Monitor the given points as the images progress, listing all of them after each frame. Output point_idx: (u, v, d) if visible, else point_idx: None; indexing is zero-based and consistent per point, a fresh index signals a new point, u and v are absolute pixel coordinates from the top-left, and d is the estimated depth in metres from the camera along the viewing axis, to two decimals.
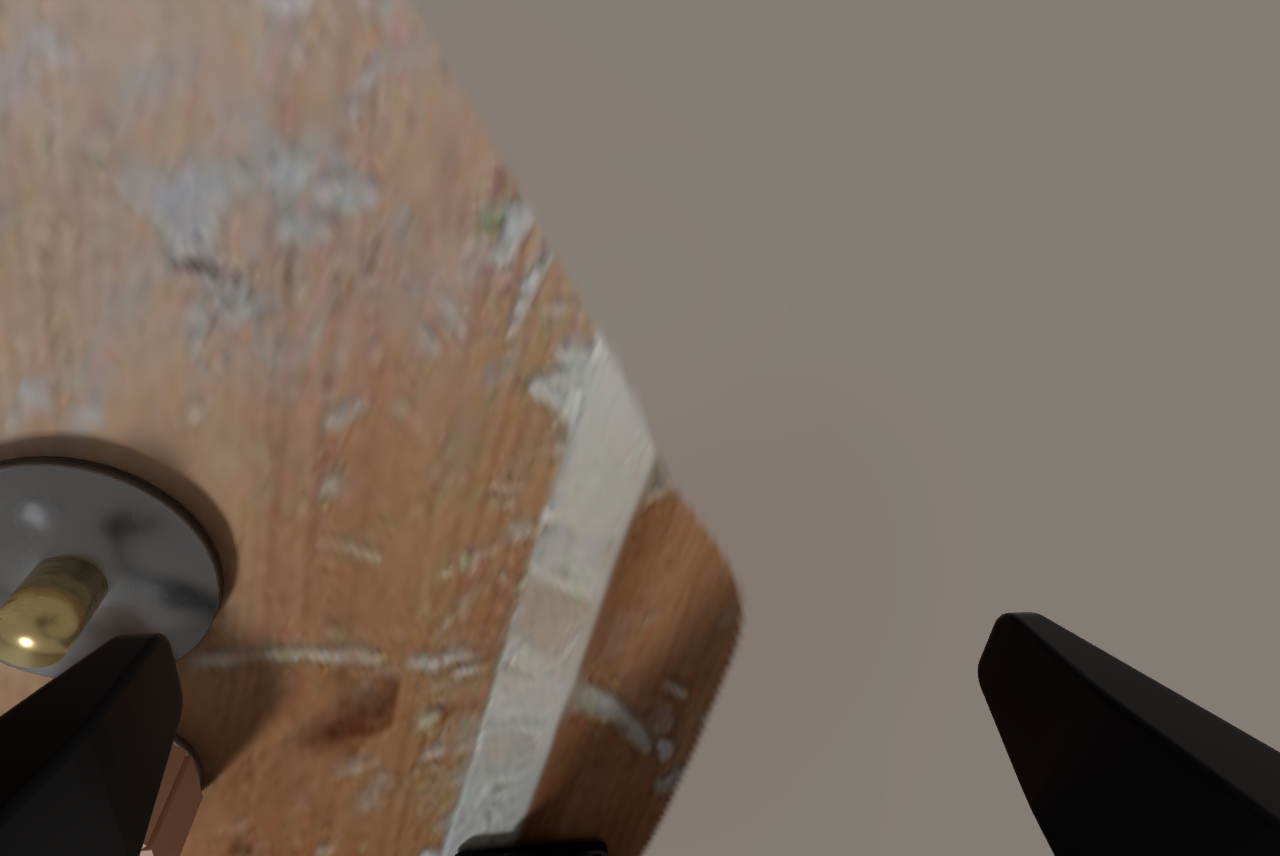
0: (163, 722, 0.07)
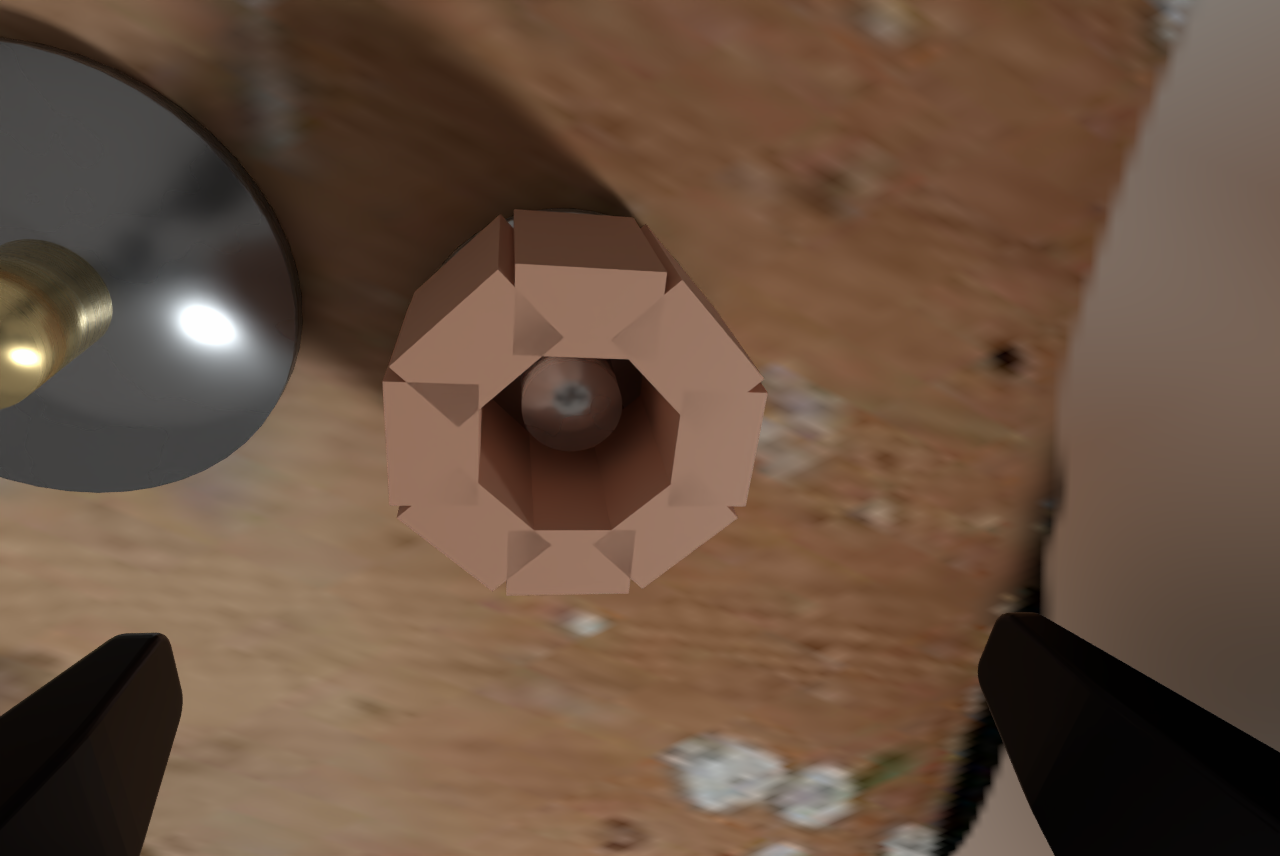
0: (163, 722, 0.07)
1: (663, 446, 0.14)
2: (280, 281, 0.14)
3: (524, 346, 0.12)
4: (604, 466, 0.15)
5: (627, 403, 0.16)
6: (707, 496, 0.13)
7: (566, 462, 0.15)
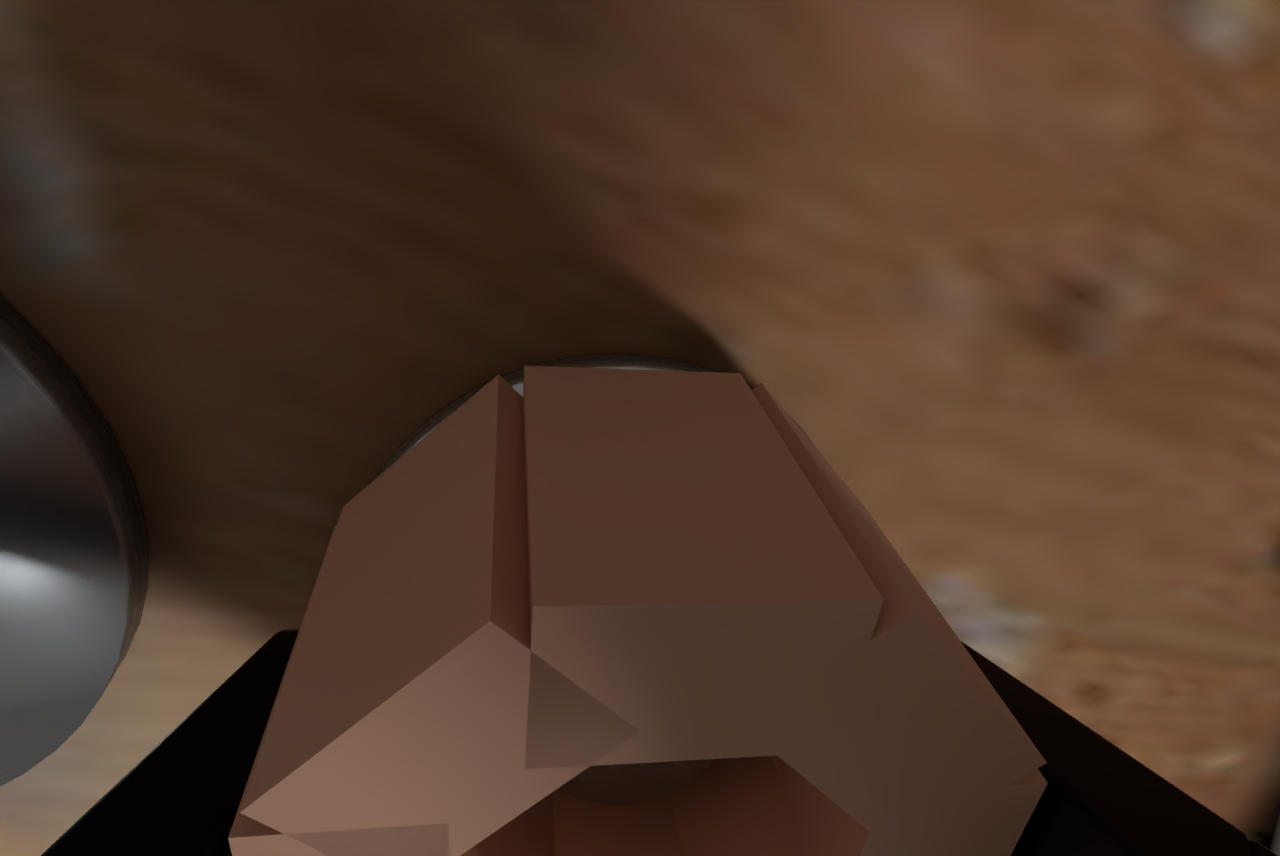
0: None
1: (805, 819, 0.07)
2: (86, 505, 0.07)
3: (551, 752, 0.05)
4: (679, 795, 0.09)
5: None
6: None
7: None
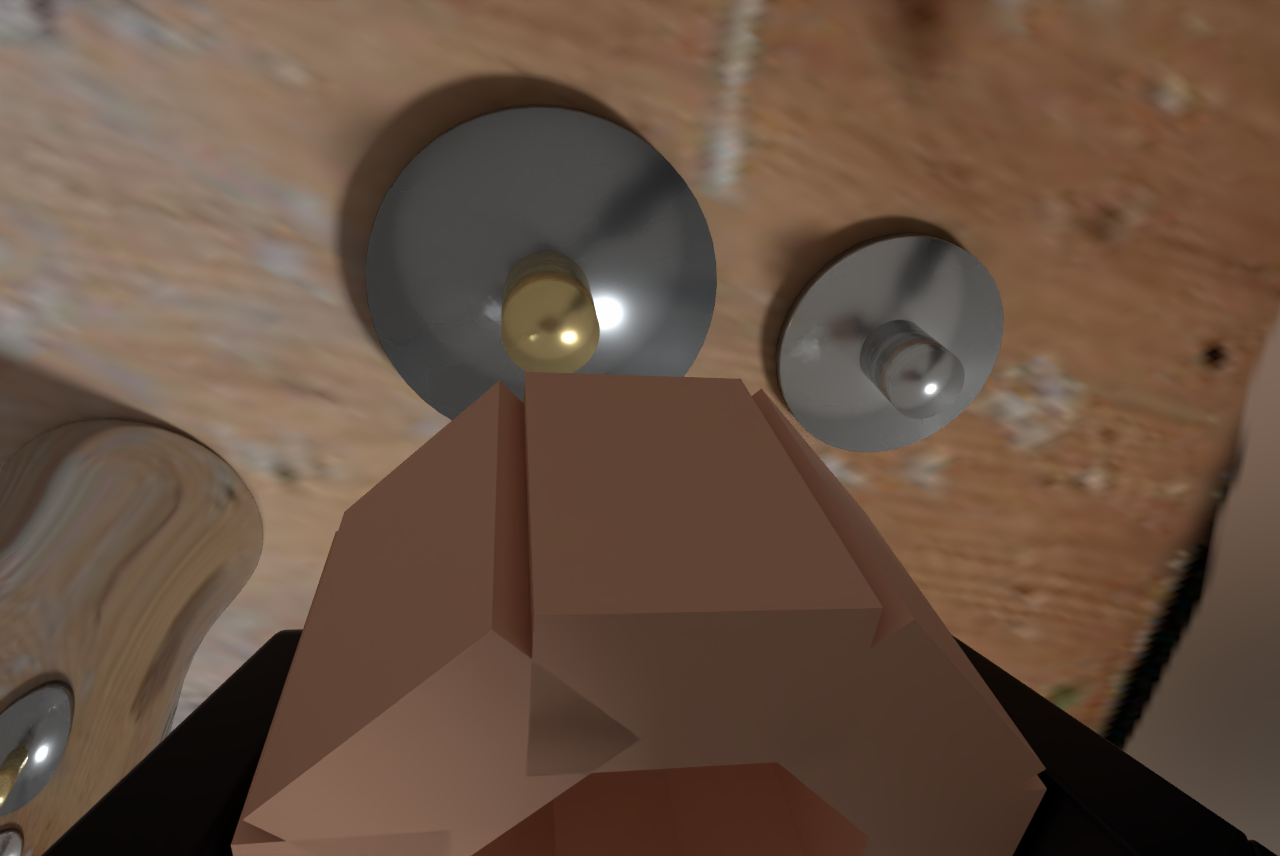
0: None
1: (805, 824, 0.07)
2: (710, 285, 0.18)
3: (552, 760, 0.05)
4: (680, 800, 0.09)
5: None
6: None
7: (612, 786, 0.09)
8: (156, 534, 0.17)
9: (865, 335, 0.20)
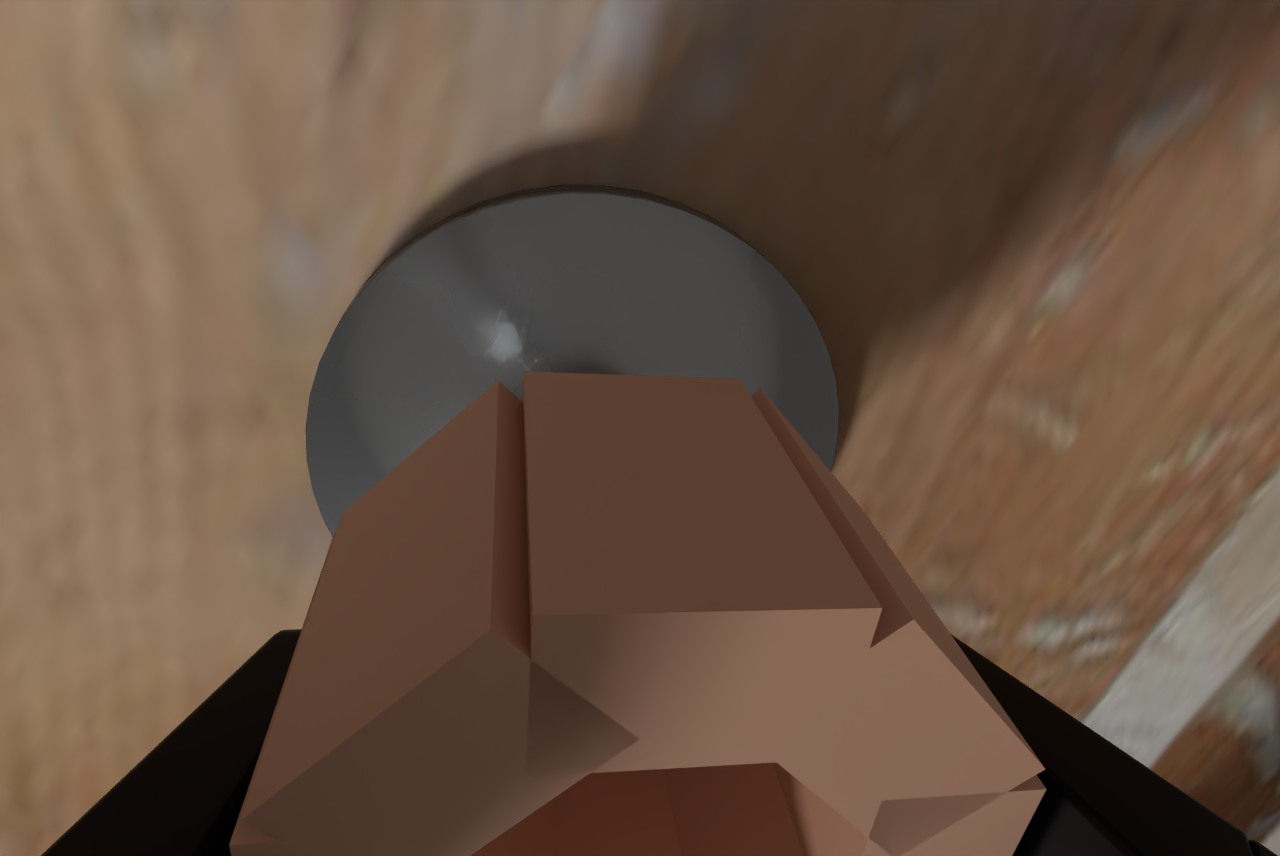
0: None
1: (805, 824, 0.07)
2: None
3: (551, 760, 0.05)
4: (680, 799, 0.09)
5: None
6: None
7: (611, 786, 0.09)
8: None
9: None
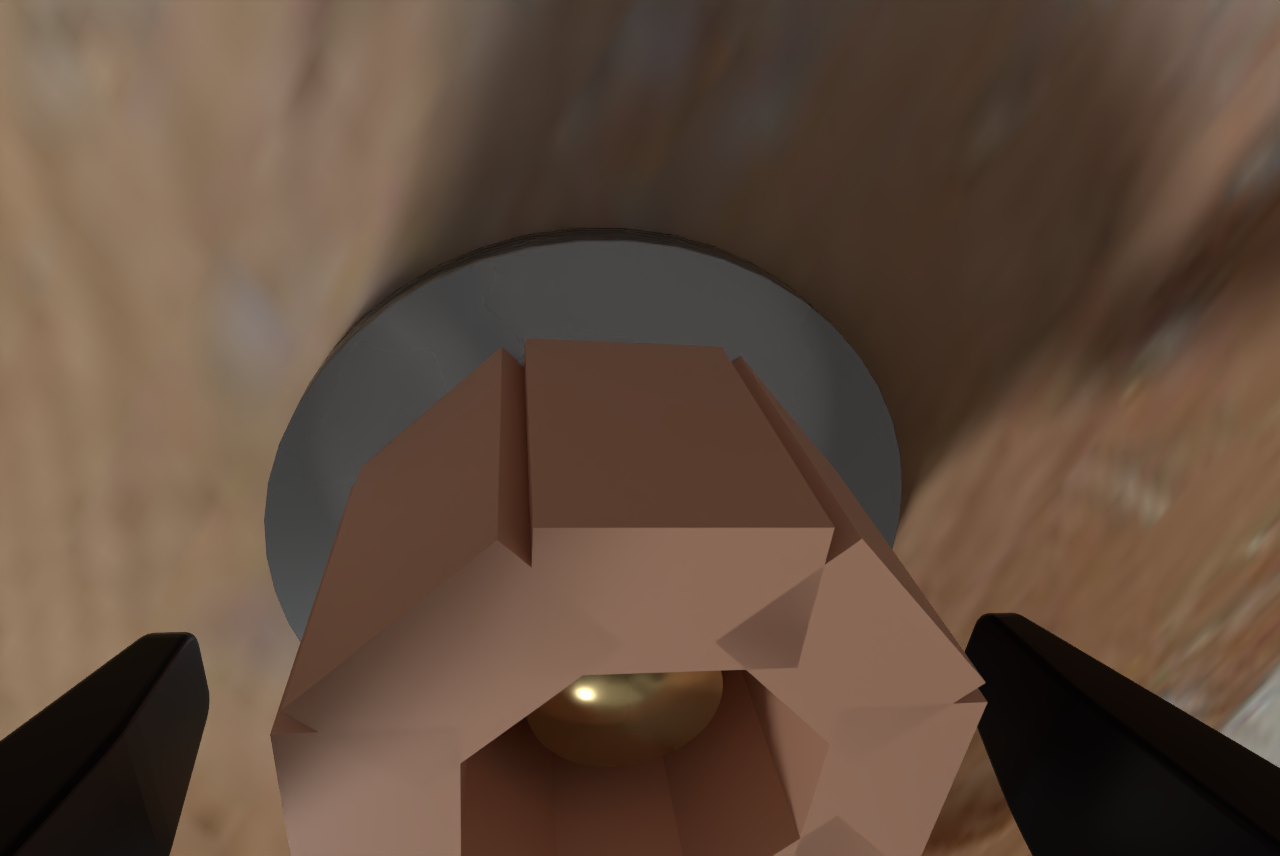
0: (191, 721, 0.07)
1: (778, 746, 0.08)
2: None
3: (549, 662, 0.06)
4: None
5: None
6: (859, 849, 0.08)
7: None
8: None
9: None
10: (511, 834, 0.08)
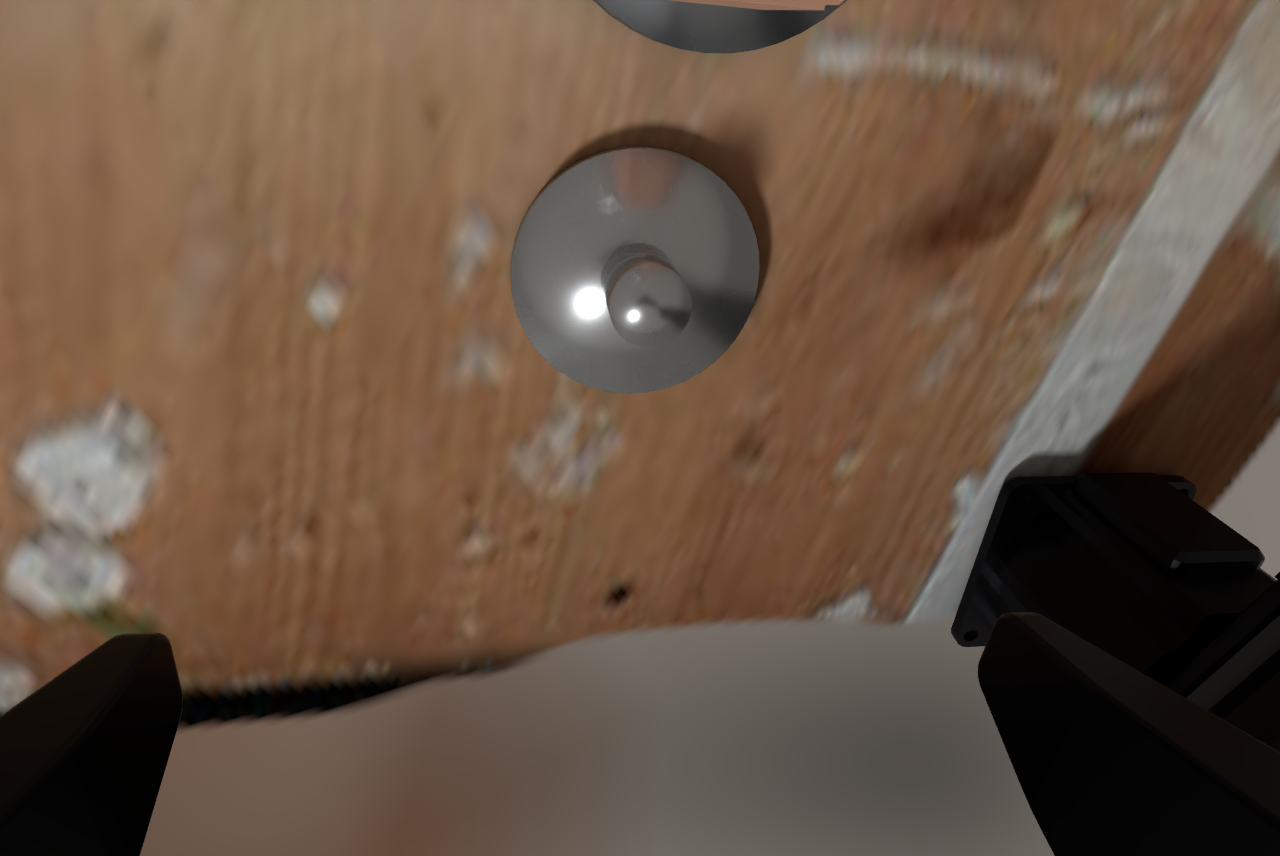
0: (163, 722, 0.07)
1: None
2: (729, 45, 0.16)
3: None
4: None
5: (599, 332, 0.19)
6: None
7: None
8: None
9: (658, 244, 0.18)
10: None
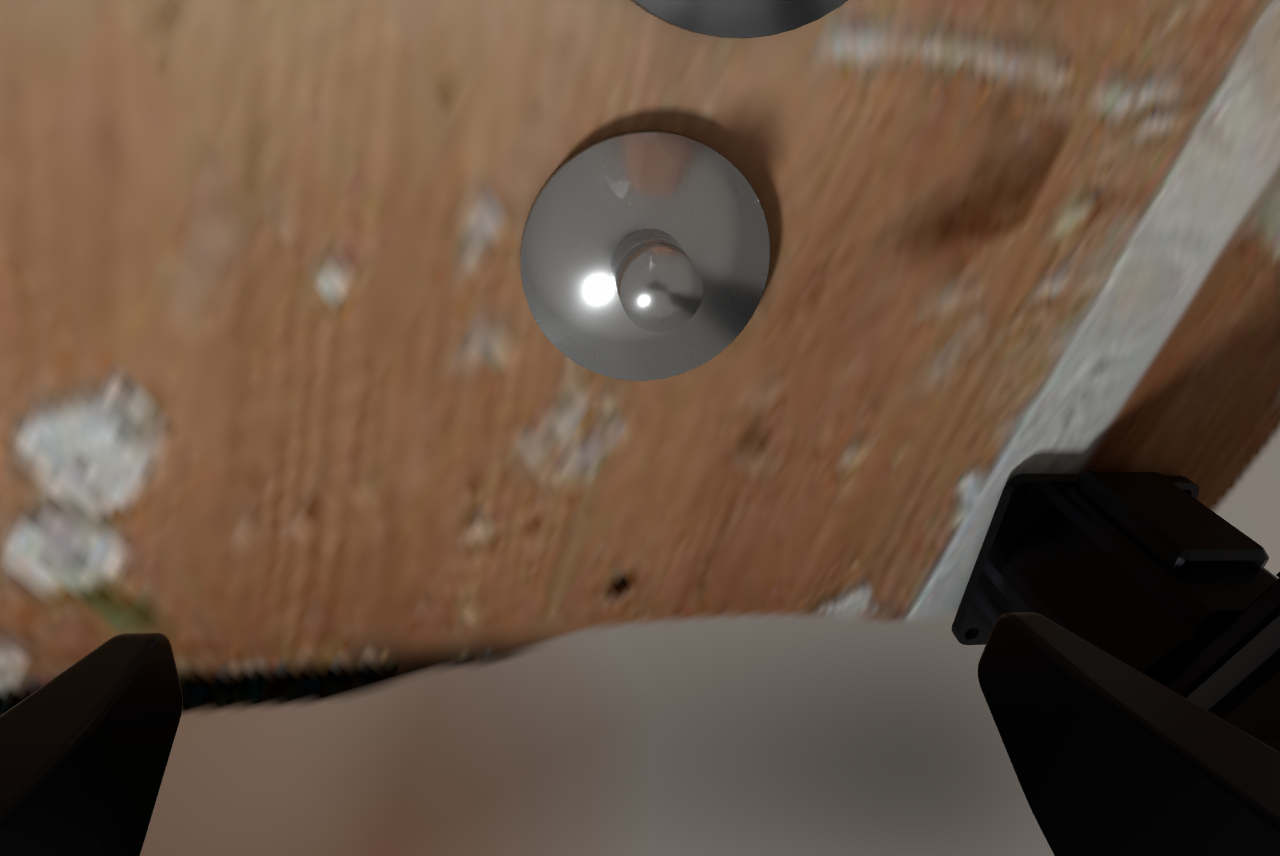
0: (163, 722, 0.07)
1: None
2: (745, 30, 0.16)
3: None
4: None
5: (608, 317, 0.19)
6: None
7: None
8: None
9: (669, 230, 0.18)
10: None
